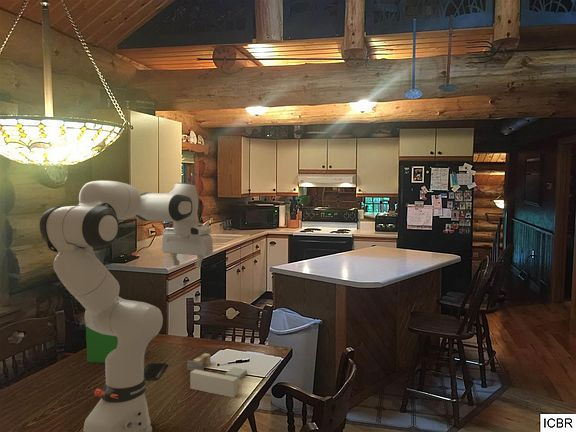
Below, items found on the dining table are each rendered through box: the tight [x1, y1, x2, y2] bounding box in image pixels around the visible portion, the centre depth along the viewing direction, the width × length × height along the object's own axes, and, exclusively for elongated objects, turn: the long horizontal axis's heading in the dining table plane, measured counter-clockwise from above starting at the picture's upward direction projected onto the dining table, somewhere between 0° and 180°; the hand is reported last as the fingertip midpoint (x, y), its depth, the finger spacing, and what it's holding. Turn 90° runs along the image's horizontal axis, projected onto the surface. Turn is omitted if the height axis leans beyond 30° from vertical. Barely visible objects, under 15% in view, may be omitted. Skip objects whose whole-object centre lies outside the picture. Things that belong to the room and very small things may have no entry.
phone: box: [144, 362, 168, 382], centre depth 189 cm, size 8×1×15 cm
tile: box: [224, 366, 248, 380], centre depth 187 cm, size 6×6×2 cm
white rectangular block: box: [189, 369, 239, 399], centre depth 175 cm, size 9×18×6 cm, turn 66°
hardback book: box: [84, 308, 118, 363], centre depth 202 cm, size 18×7×24 cm, turn 85°
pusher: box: [186, 353, 212, 372], centre depth 195 cm, size 9×7×4 cm
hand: (187, 266), depth 176 cm, fingers open, 8 cm apart
